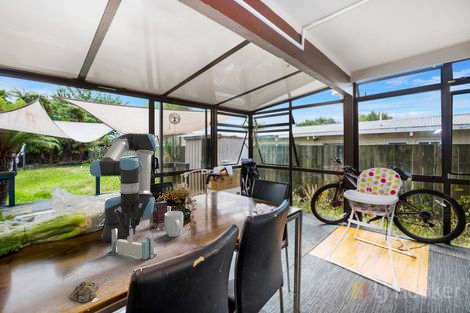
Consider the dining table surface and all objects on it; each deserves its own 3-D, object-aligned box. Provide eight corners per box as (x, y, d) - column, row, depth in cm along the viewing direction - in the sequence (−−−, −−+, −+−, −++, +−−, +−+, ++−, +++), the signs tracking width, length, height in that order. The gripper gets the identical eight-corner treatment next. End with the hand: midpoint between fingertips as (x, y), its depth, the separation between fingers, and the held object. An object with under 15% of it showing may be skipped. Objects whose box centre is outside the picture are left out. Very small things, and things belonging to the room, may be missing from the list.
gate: (116, 252, 101) (116, 236, 100) (120, 250, 103) (120, 234, 103) (145, 259, 95) (145, 242, 95) (149, 256, 97) (149, 240, 97)
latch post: (144, 257, 99) (144, 236, 98) (149, 253, 102) (149, 233, 102) (151, 259, 97) (151, 238, 97) (156, 255, 101) (156, 235, 100)
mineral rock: (65, 288, 73) (90, 272, 79) (69, 298, 74) (94, 281, 80) (74, 304, 66) (101, 285, 72) (78, 314, 67) (105, 295, 73)
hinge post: (106, 254, 101) (106, 230, 101) (115, 249, 106) (115, 226, 105) (114, 256, 99) (113, 231, 99) (122, 251, 104) (122, 228, 104)
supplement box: (163, 222, 146) (163, 200, 145) (167, 224, 143) (167, 201, 143) (152, 226, 139) (152, 203, 138) (157, 228, 136) (157, 204, 135)
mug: (188, 238, 121) (188, 216, 120) (169, 242, 115) (169, 219, 114) (179, 229, 133) (179, 209, 133) (162, 233, 127) (162, 212, 127)
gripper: (117, 195, 87) (118, 250, 88) (147, 190, 97) (147, 239, 98) (111, 192, 92) (111, 244, 93) (140, 188, 102) (140, 235, 103)
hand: (130, 241), depth 96 cm, fingers closed
